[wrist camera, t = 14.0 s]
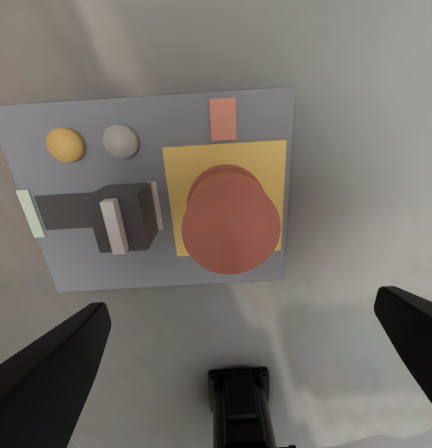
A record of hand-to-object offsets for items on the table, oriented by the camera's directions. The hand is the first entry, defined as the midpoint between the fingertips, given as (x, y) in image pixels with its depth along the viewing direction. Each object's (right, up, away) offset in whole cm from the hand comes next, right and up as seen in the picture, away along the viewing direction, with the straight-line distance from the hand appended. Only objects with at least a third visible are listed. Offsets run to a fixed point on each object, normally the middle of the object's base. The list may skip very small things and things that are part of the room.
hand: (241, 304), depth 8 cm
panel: (-5, +4, +10) cm, 12 cm away
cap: (0, +4, +9) cm, 10 cm away
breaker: (-7, +4, +9) cm, 12 cm away
